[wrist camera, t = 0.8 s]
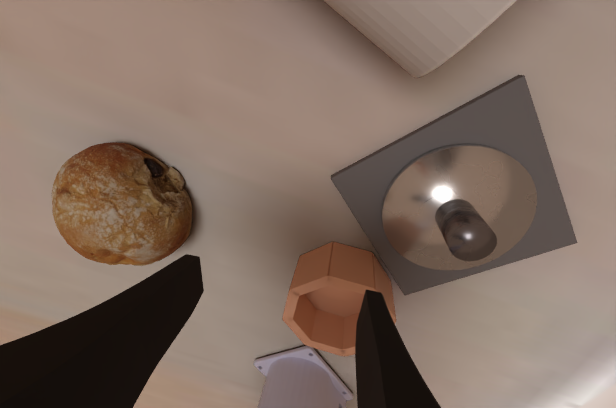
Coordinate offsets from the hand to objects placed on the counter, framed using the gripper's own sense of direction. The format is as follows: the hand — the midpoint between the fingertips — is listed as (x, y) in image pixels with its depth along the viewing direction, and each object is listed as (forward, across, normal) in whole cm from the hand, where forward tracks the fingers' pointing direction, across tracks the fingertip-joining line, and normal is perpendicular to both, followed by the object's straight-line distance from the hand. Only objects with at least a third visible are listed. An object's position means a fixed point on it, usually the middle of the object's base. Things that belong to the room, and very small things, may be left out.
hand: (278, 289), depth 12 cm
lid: (+9, -10, -1) cm, 13 cm away
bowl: (+10, -3, +8) cm, 13 cm away
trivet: (+10, -10, -1) cm, 14 cm away
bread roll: (+10, +15, +4) cm, 18 cm away
